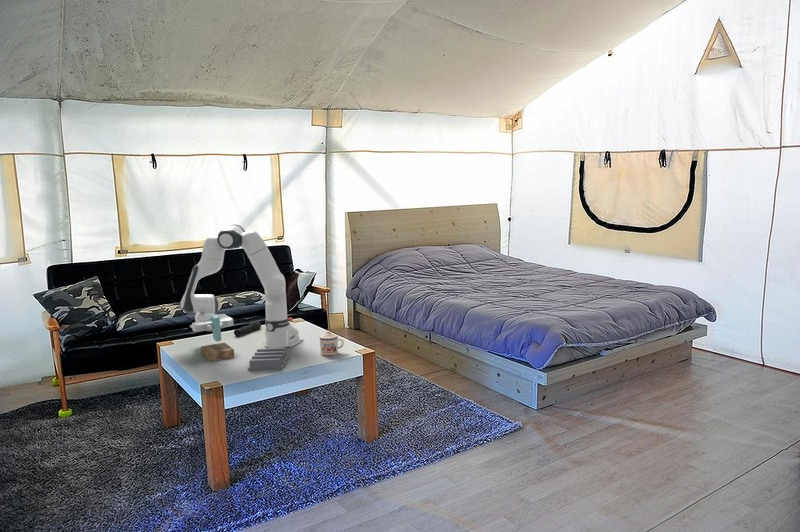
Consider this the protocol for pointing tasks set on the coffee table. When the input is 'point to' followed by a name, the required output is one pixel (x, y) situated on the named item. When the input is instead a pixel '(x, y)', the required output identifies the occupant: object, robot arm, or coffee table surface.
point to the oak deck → (217, 351)
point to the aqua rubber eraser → (216, 328)
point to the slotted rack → (268, 359)
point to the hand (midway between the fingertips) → (216, 327)
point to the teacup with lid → (329, 344)
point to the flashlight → (247, 328)
